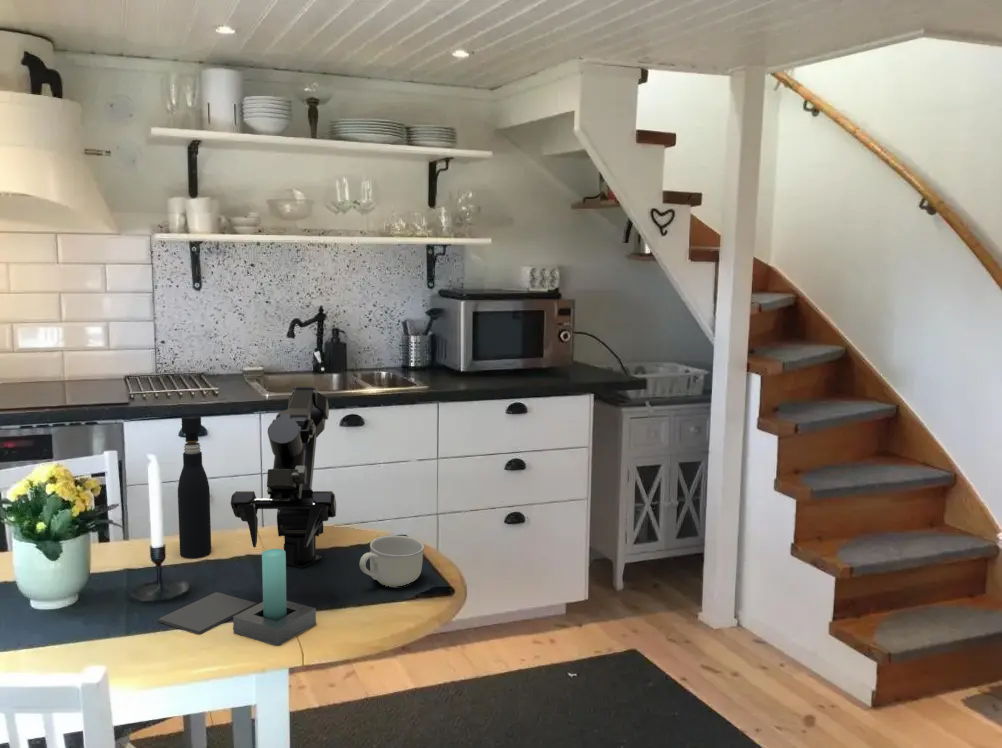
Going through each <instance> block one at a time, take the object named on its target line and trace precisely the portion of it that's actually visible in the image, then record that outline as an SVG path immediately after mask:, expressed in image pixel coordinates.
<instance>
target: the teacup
mask: <svg viewBox="0 0 1002 748" xmlns="http://www.w3.org/2000/svg"><path fill="white" fill-rule="evenodd" d="M424 545H425V544H424V543H423V541H421V540H420V539H417V538H414V537H412V536H406V535H384V536H379V537H376V538H375V539H373V540H371V542H370V543H369V549H370V551H369V552H365V553H364V554H363V555H362V556H361V557H360V558H359V563H358V564H359V568H360V570H361V571H362V572H363V573H364V574H366V575H368V576H370V577H371V578H372V580H376V581H377V582H378V583H379V584H380V585H382V586H384V585H385V586H384V587H388V586H389V588H398V587H397V586H403V585H406V584H409V583H411V582H412V583H413V582H414V581H416V580H417V579H418V578H419V577H420V575H421V573H422V568H423V559H424V549H425V546H424ZM368 560H369V569H368V568H367V566H366V565H367V561H368ZM412 583H411V584H412ZM409 585H410V584H409Z"/></svg>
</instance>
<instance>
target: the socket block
mask: <svg viewBox="0 0 1002 748" xmlns="http://www.w3.org/2000/svg"><path fill="white" fill-rule="evenodd" d="M286 603H287V616H285V617H283V618H281V619H279V620H278V621H274V620H270V619H267V618H263V601H261V602H260V603H258V604H257V603H256V605H255V606H253V607H251V608H249V609H247V610H245V611H243V612H241V613H239V614H237V615H235V616H233V618H232V619H233V621H232V623H233V628H232V629H233V631H232V632H233V634H236V635H239V636H243V637H246V638H249V639H253V640H256V641H259V642H263V643H266V644H269V645H273V646H277V647H279V646H280V645H283V644H284V643H286V642H288V641H289V640H291V639H293V638H295V637H296V636H298V635H300V634H302V633H303V632H305V631H307V630H308V629H310V628H312V627H314V626H316V625H317V608H316V607H312V606H308V605H305V604H301V603H297V602H293V601H289V600H287V599H286Z"/></svg>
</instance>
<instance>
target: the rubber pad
mask: <svg viewBox="0 0 1002 748" xmlns="http://www.w3.org/2000/svg"><path fill="white" fill-rule="evenodd" d="M255 605H257V602H254V601H250V600H247V599H243V598H239V597H236V596H231V595H228V594H225V593H222V592H217V591H215V592H214V593H211V594H209V595H206V596H205V597H203V598H200V599H198V600H197V601H194V602H192V603H189V604H188V605H184V607H180V608H179V609H176V610H175V611H172V612H170V613H168V614H166V615H163V616H161V617H160V618H157V621H158V623H160V624H163V623H164V625H167V626H170V627H174V628H176V629H180V630H184V631H186V632H189V633H193V634H196V635H201V634H203V633H205V632H208V631H210V630H212V629H214V628H217V626H220V625H222V624H224V623H225V622H227V621H229V620H231V619H233V616H235V615H237V614H239V613H241V612H243V611H245V610H247V609H249V608H251V607H253V606H255Z"/></svg>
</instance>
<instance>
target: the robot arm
mask: <svg viewBox="0 0 1002 748" xmlns="http://www.w3.org/2000/svg"><path fill="white" fill-rule="evenodd" d="M329 413H330V408H329V401H328V397H327V396H325V395H323V394H322V393H320V392H318V388H317V387H314V386H296V387H293V388H292V394H291V395H290V396H288V407H287V409H284V410H280V411H279V412H278V413H277V414H276V416H275V419H273V420H272V422H271V423H270V424H269V426H268V427H267V435H268V441H269V445H270V449H271V451H272V453H273V455H274V459H273V468H270V469H267V478H266V488H267V490H266V492H267V495H268V496H269V498H268V497H267V498H261V497H260V498H258V497H257V496H256V493H255V491H254V490H253V491H252V490H251V491H250V490H249V491H244V490H243V491H238V490H237V491H235V492H233V494H232V495H231V498H230V506H231V509H232V512H233V514H234V517H236V518H240V520H241V521H242V522H245V523H246V522H247V526H248V529H249V534H250V538H251V539H250V540H251V543H252V544H251V545H252V547H253V548H256V547H257V543H258V529H259V528H258V526H259V525H258V524H259V523H258V522H259V520H258V519H259V518H258V510H276V511H277V512H276V523H277V535H278V537H283V538H284V543H283V550H285V552H286V565H289V566H293V567H297V568H300V567H301V569H302V568H303V567H304V568H306V567H308V566H309V565H312V564H314V563H316V562H318V561H320V560H322V556H321V555H317V553H316V550H317V548H316V546H317V545H316V540H317V539H316V537H320V535H323V534H324V522H327V521H329V518H334V517H336V516H337V500H336V494H335V493H334V492H333V491H332V490H330V491H329V490H328V491H327V490H325V491H324V490H323V491H321V490H319V491H317V490H316V491H315V490H313V489H312V488H313V479H314V469H315V468H314V467H315V456H316V447H317V438H318V437H319V436H320V435H321V434H322V432H324V430H325V427H326V421H327V420H329V415H330V414H329Z"/></svg>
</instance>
